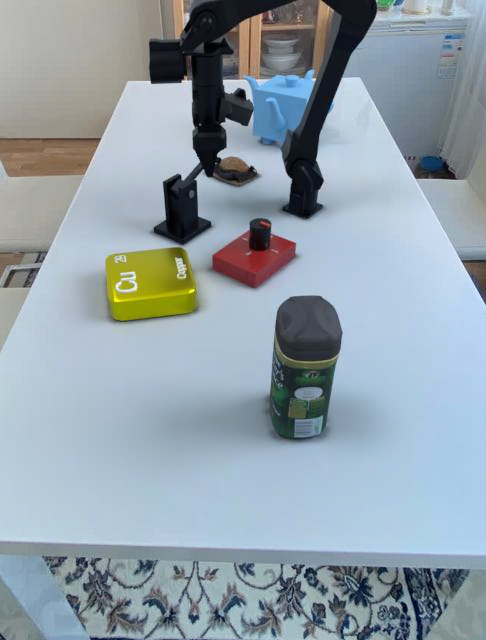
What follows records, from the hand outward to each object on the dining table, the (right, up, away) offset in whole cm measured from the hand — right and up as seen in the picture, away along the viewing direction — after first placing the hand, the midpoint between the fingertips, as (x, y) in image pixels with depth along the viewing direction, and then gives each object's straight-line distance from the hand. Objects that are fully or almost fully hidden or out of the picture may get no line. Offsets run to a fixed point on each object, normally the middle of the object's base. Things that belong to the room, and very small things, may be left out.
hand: (209, 167), depth 114 cm
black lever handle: (-3, -3, -2) cm, 5 cm away
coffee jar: (+12, -50, -33) cm, 61 cm away
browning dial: (+9, -18, -8) cm, 22 cm away
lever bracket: (-5, -12, +3) cm, 13 cm away
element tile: (-10, -28, -12) cm, 32 cm away
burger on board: (+6, +6, +19) cm, 21 cm away
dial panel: (+9, -21, -6) cm, 24 cm away
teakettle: (+19, +21, +32) cm, 43 cm away
